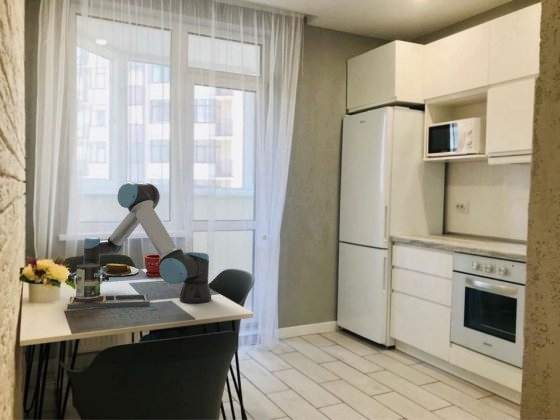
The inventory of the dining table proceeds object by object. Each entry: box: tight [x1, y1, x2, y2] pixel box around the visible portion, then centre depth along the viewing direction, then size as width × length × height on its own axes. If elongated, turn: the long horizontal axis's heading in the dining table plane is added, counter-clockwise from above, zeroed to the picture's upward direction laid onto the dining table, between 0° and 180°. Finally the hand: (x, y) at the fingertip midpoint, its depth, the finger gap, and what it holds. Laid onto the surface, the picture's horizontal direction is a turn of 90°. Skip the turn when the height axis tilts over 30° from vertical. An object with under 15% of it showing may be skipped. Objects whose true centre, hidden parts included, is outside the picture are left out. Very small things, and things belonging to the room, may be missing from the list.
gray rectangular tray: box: [66, 293, 150, 310], centre depth 215 cm, size 34×16×2 cm, turn 109°
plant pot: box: [144, 254, 161, 278], centre depth 288 cm, size 13×13×12 cm
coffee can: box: [75, 263, 102, 299], centre depth 212 cm, size 10×10×14 cm
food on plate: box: [101, 263, 140, 277], centre depth 290 cm, size 25×25×7 cm
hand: (88, 281), depth 208 cm, fingers closed on coffee can, 10 cm apart
